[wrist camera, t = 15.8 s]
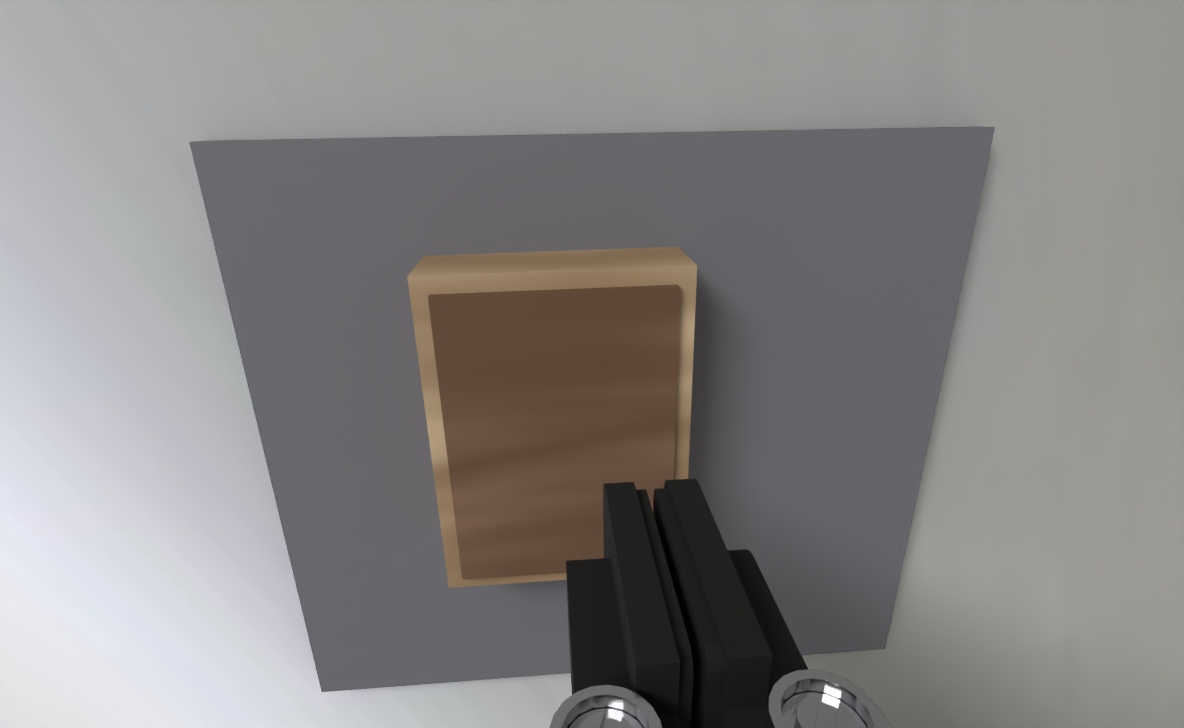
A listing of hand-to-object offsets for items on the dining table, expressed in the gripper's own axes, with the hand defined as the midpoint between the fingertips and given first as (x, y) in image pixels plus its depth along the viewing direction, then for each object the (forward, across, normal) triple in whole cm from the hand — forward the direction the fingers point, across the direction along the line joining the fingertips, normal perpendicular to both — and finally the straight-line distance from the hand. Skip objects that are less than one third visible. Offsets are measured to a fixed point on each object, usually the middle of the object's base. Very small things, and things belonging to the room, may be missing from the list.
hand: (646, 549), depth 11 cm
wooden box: (+5, +1, +4) cm, 6 cm away
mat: (+6, 0, +1) cm, 6 cm away
